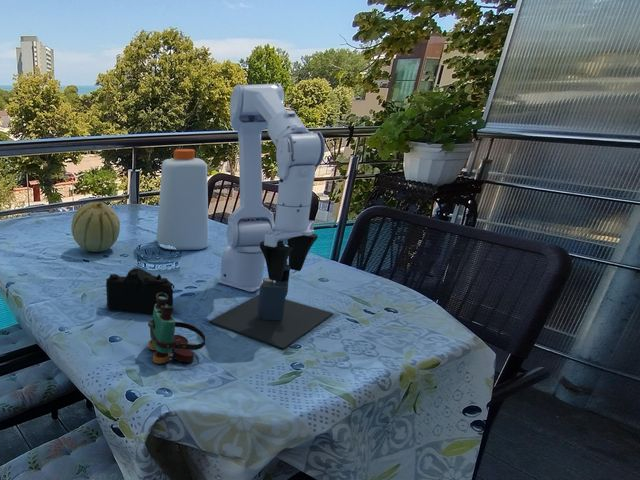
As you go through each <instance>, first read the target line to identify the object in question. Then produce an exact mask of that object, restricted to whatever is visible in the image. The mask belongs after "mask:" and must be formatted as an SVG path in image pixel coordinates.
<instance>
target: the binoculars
mask: <svg viewBox="0 0 640 480" xmlns="http://www.w3.org/2000/svg"><path fill="white" fill-rule="evenodd" d="M168 298H169V297H168V295H167V294H166V293H162V292H161V293H158V294H157V295H156V300H157V304H155V306H154V311H153V314H152V317H151V319H150V320H148V322H147V326H148V328H149V332H150V334H149V337H150V340H149V341H148V349H149V350H151V351H155V352H153V354H152V361H153V363H155V364H159V365H160V364H165V363H167V362H168V361H170V359H172V360H176V361H180V362H183V363H191V362H193V361H194V357H195V352H194V351H197V350H202V349H203V347H204V346H205V345H206V341H207V338H206V334H205V333H204V332H203V331H202V330H201V329H200V328H198V327H197V326H195V325H193V324H190V323H186V322H182V321H176V319H175V318H174V317H173V316H172V313H173V312H174V308H175V306H174V305H173V306H168V305H167V304H166V302H167V301H168ZM176 328H183V329H186V330H189V331H191V332H194V333H195V334H196V335H198V336H199V337H200V338H201V339H202V340H203V341H202V342H201V343H197V344H195V343H189V340H188V338H186V337H185V336H184V335H180V334H175V332H176ZM171 353H172V356H171Z"/></svg>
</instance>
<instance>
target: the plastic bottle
mask: <svg viewBox="0 0 640 480" xmlns="http://www.w3.org/2000/svg"><path fill="white" fill-rule="evenodd" d="M208 194H209V191H208V163H207V162H205V160H204V159H202V158H197V157H196V150H195V149H192V148H181V149H180V148H179V149H178V148H177V149H174V150H173V158H166V159H164V160H163V161H162V163H161V173H160V188H159V199H158V200H159V201H158V213H157V225H156V240H157V241H156V242H157V245H159V244H163V245H170V246H173V247H175V248H176V249H177V250H176V251H199V250H203V249H206V248H207V247H208V246H209V243H210V240H209V239H210V238H209V235H210V234H209V233H210V232H209V196H208Z"/></svg>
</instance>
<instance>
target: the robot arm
mask: <svg viewBox="0 0 640 480" xmlns="http://www.w3.org/2000/svg"><path fill="white" fill-rule="evenodd" d="M284 91H285V90H284V88H283V86H282V84H281V83H279V82H275V83H263V84H262V83H260V84H258V83H257V84H239V83H238V84H236V85H235V86H234V87H233V88H232V91H231V94H230V101H229V114H230V115H229V117H230V119H229V120H230V127H231V129H233V130H234V131H236V132H237V138H238V140H237V141H238V170H239V175H238V176H239V206H238V208H236V209H235V210H233V211H232V212H231V213H230V214H229V216H228V219H227V228H226V241H227V244H228V245H227V246H226V247H225V248H224V250H223V252H222V255H221V261H220V264H221V265H220V278H219V280H218V283H219V284H222V285H225V286H229V287H232V288H236V289H239V290H242V291H246V292H250V293H254V292H256V291H258V290H260V286H261V284H262V283H263V279H264V271H265V264H266V268H267V269H266V270H267V275H268V278H269V279H270V280H274V282H276V281H278V282H279V281H281V279H282V277H283V273H284V268H285V264H286V261H287V262H288V265H290V270H293V271H296V272H300V271H301V270H302V268H303V266H304V265H305V261H306V259H307V256H308V254H309V252H310V251H311V248H312V247H313V245H314V243H315V242H316V241H317V240H318V234H317V233H314V225H315V221H314V220H310V213H311V205H312V197H313V191H314V182H315V175H316V168H319V166H320V165H321V164H322V162H323V160H324V157H325V152H326V141H325V138H324V136H323V133H322V132H321V131H309V130H308V128H307V127H306V125H305V124H304V123H303V121H302V120H301V118H300V117H299V116H298V115H297V113H296V111H295V110H287V109H286V107H285V105H284V100H285V92H284ZM265 130H266V131H267V134H268V137H269V138H270V140H271V141H272V144H273V145H274V146H275V148H276V149H275V153H276V154H275V157H276V158H275V159H276V165H277V167H276V174H277V175H276V176H277V178H278V179H279V180H278V189H277V199H276V208H275V217H274V213H273V212H272V211H270V209H268V208H267V207H265V206H264V205H263V171H262V169H263V167H262V133H263V131H265ZM251 219H252V220H251ZM284 242H287V245H285V243H284Z"/></svg>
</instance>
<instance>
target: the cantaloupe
mask: <svg viewBox="0 0 640 480" xmlns="http://www.w3.org/2000/svg"><path fill="white" fill-rule="evenodd" d="M70 228H71V235H72V238H73V240H74V241H75V243H76V244H77V245H78V246H79V248H81V249H83V250H84V251H86V252H90V253H91V252H92V253H99V252H105V251H106V250H108V249H110V248H111V247H113V246H114V245H115V244H116V242H117V241H118V238H119V235H120V231H121V221H120V218H119V216H118V214H117V213H116V211H115V210H114V209H113V208H112V207H111V206H110V205H108V204H106V203H104V202H102V201H101V202H100V201H93V202H87V203H85V204H83V205H81V206H80V207H79V208H78V209H77V210H76V211H75V213H74V214H73V217H72V221H71V225H70Z"/></svg>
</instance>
